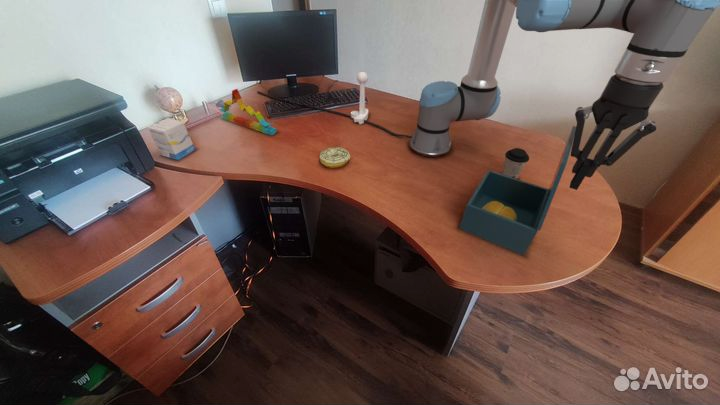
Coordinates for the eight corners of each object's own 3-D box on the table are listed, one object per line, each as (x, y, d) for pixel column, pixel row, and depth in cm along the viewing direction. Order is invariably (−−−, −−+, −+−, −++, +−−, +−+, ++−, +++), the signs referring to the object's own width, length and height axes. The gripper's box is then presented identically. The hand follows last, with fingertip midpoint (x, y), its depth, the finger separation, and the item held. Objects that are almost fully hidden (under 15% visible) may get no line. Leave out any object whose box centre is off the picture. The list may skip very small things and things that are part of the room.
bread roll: (505, 233, 78) (510, 223, 75) (475, 216, 83) (479, 205, 80) (520, 219, 82) (525, 208, 79) (491, 203, 87) (495, 192, 84)
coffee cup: (517, 187, 94) (529, 160, 87) (494, 180, 97) (504, 154, 90) (521, 176, 98) (532, 150, 92) (499, 170, 101) (509, 144, 94)
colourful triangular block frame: (277, 132, 123) (269, 96, 113) (271, 135, 121) (263, 99, 111) (228, 115, 135) (217, 82, 125) (222, 118, 133) (211, 85, 123)
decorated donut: (356, 160, 106) (355, 151, 104) (334, 173, 100) (333, 164, 98) (335, 150, 111) (335, 141, 109) (314, 162, 106) (313, 153, 103)
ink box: (196, 149, 113) (184, 121, 105) (177, 160, 107) (163, 131, 99) (180, 145, 116) (167, 116, 108) (161, 155, 110) (146, 126, 102)
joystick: (363, 124, 128) (363, 76, 114) (347, 122, 129) (345, 75, 116) (370, 113, 136) (371, 68, 122) (354, 111, 137) (353, 66, 124)
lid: (561, 163, 57) (566, 164, 56) (572, 125, 68) (577, 126, 68) (536, 229, 67) (540, 230, 67) (549, 187, 79) (553, 188, 78)
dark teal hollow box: (459, 228, 80) (466, 204, 75) (480, 193, 92) (488, 169, 86) (523, 255, 73) (537, 231, 68) (537, 213, 85) (550, 189, 79)
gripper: (592, 77, 51) (539, 184, 67) (690, 93, 46) (607, 205, 61) (595, 66, 56) (545, 168, 72) (684, 79, 50) (608, 187, 66)
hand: (573, 185), depth 66 cm, fingers closed
